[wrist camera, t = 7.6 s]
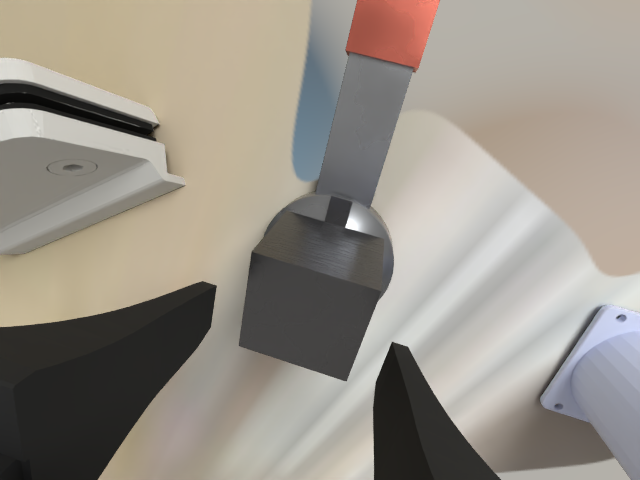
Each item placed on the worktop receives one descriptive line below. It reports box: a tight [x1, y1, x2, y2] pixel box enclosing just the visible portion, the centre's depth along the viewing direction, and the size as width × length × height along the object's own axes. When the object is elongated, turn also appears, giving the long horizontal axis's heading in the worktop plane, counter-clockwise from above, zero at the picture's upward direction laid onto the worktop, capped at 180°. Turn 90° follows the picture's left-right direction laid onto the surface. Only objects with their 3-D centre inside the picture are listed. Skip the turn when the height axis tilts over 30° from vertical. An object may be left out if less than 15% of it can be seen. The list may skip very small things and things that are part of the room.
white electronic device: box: [0, 58, 185, 255], centre depth 19 cm, size 17×5×10 cm, turn 112°
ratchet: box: [264, 0, 440, 302], centre depth 16 cm, size 8×25×5 cm, turn 166°
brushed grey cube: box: [239, 211, 384, 381], centre depth 17 cm, size 6×6×5 cm
